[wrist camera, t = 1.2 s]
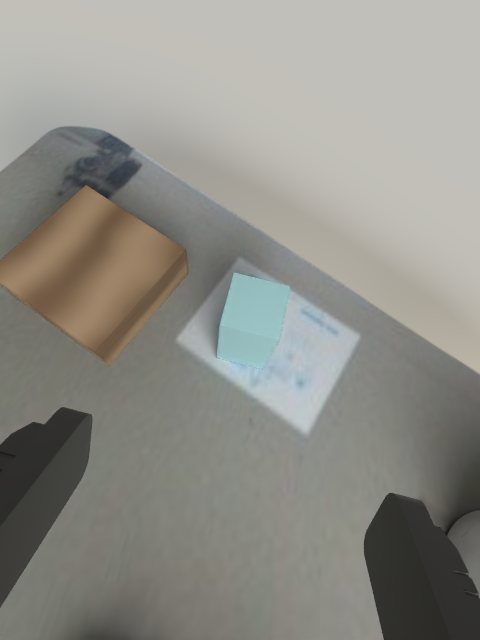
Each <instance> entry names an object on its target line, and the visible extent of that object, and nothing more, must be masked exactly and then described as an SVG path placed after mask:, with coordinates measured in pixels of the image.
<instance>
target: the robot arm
mask: <svg viewBox="0 0 480 640" xmlns="http://www.w3.org/2000/svg"><path fill="white" fill-rule="evenodd" d="M91 429H92V415H91V414H88V413H84V412H80V411H76V410H72V409H68V408H64V407H62V408H60V409H59V410H58V411H57V412H56V413H55V414H54V415H53V416H52V417H51V418H50V419H49V420H48V421H47V422H46V424H45V425H44V424H40V423H36V422H33V423H31V424H29V425H27V426H25V427H23V428H21V429H19V430H18V431H16V432H14V433H12V434H11V435H10V436H9V437H8V438H7V439H6V440H5V441H4V442H3V443H2V444H1V445H0V607H1V606H2V604H3V602H4V601H5V599H6V598H7V596H8V594H9V593H10V591H11V590H12V588H13V587H14V585H15V583H16V582H17V580H18V579H19V577H20V575H21V574H22V572H23V571H24V569H25V568H26V566H27V564H28V563H29V561H30V560H31V558H32V557H33V555H34V553H35V552H36V550H37V549H38V547H39V545H40V544H41V542H42V541H43V539H44V538H45V536H46V534H47V533H48V531H49V530H50V528H51V526H52V525H53V523H54V522H55V520H56V519H57V517H58V515H59V514H60V512H61V511H62V509H63V507H64V506H65V504H66V503H67V501H68V500H69V498H70V496H71V495H72V493H73V492H74V490H75V489H76V487H77V485H78V484H79V482H80V480H81V478H82V476H83V474H84V472H85V469H86V466H87V463H88V459H89V450H90V440H91ZM364 555H365V560H366V564H367V569H368V573H369V577H370V582H371V586H372V590H373V594H374V599H375V603H376V607H377V612H378V616H379V620H380V625H381V629H382V633H383V637H384V640H480V510H477V511H473V512H470V513H467V514H465V515H464V516H462V517H461V518H459V519H458V520H457V521H456V522H455V523H454V525H453V526H452V527H451V528H450V531H449V533H448V535H446V534H445V533H444V532H443V530H442V529H441V528H440V527H436V526H434V524H433V522H432V520H431V518H430V515H429V513H428V511H427V509H426V507H425V505H424V504H423V502H422V501H420V500H417V499H413V498H410V497H406V496H402V495H398V494H394V493H389V494H388V495H387V496H386V497H385V499H384V501H383V502H382V504H381V506H380V508H379V509H378V511H377V513H376V515H375V516H374V518H373V520H372V522H371V524H370V525H369V527H368V529H367V531H366V534H365V539H364Z"/></svg>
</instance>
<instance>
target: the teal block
mask: <svg viewBox="0 0 480 640" xmlns="http://www.w3.org/2000/svg"><path fill="white" fill-rule="evenodd" d="M290 287H291V286H287V285H283V284H279V283H275V282H271V281H267V280H263V279H259V278H255V277H251V276H246V275H242V274H238V273H234V274H233V278H232V281H231V285H230V289H229V293H228V296H227V300H226V304H225V307H224V311H223V315H222V318H221V322H220V327H219V338H218V349H217V358H219V359H223V360H227V361H231V362H235V363H239V364H243V365H247V366H251V367H255V368H259V369H263V367H264V365H265V364H266V362H267V360H268V359H269V357H270V356H271V354H272V352H273V351H274V349H275V347H276V346H277V344H278V342H279V341H280V337H281V332H282V327H283V322H284V317H285V312H286V307H287V302H288V297H289V292H290Z"/></svg>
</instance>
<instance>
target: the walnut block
mask: <svg viewBox="0 0 480 640" xmlns="http://www.w3.org/2000/svg"><path fill="white" fill-rule="evenodd" d="M187 275H188V268H187V258H186V249H184V248H183V247H181V246H179V245H178V244H176V243H175V242H173V241H172V240H170V239H169V238H167V237H165V236H164V235H162V234H161V233H159V232H158V231H156V230H155V229H153V228H152V227H150V226H148V225H147V224H145V223H144V222H142V221H141V220H139V219H138V218H136V217H135V216H133V215H131V214H130V213H128V212H127V211H125V210H124V209H122V208H121V207H119V206H118V205H116V204H114V203H113V202H111V201H110V200H108V199H107V198H105V197H104V196H102V195H100V194H99V193H97V192H96V191H94V190H93V189H91V188H90V187H88V186H87V185H85V186H84V187H83V188H82V189H81V190H80V191H79V192H77V193H76V194H75V195H74V196H73V197H72V198H71V199H70V200H68V201H67V202H66V203H65V204H64V205H63V206H62V207H60V208H59V209H58V210H57V211H56V212H55V213H54V214H53V215H51V216H50V217H49V218H48V219H47V220H46V221H45V222H43V223H42V224H41V225H40V226H39V227H38V228H37V229H36V230H34V231H33V232H32V233H31V234H30V235H29V236H28V237H26V238H25V239H24V240H23V241H22V242H21V243H20V244H19V245H17V246H16V247H15V248H14V249H13V250H12V251H11V252H9V253H8V254H7V255H6V256H5V257H4V258H3V259H2V260H0V285H1V286H2V287H4V288H5V289H6V290H7V291H8V292H9V293H11V294H12V295H13V296H14V297H16V298H17V299H18V300H20V301H21V302H22V303H24V304H25V305H27V306H28V307H29V308H31V309H32V310H33V311H35V312H36V313H38V314H39V315H40V316H42V317H43V318H44V319H46V320H47V321H49V322H50V323H51V324H53V325H54V326H55V327H57V328H58V329H60V330H61V331H62V332H64V333H65V334H66V335H68V336H69V337H70V338H72V339H73V340H75V341H76V342H77V343H79V344H80V345H81V346H83V347H84V348H86V349H87V350H88V351H90V352H91V353H92V354H94V355H95V356H97V357H98V358H99V359H101V360H102V361H103V362H105V363H106V364H108V365H109V366H110V365H111V363H112V362H113V361H114V360H115V359H116V358H117V356H118V355H119V354H120V353H121V352H122V351H123V349H124V348H125V347H126V346H127V345H128V344H129V342H130V341H131V340H132V339H133V338H134V337H135V335H136V334H137V333H138V332H139V331H140V330H141V328H142V327H143V326H144V325H145V324H146V322H147V321H148V320H149V319H150V318H151V317H152V315H153V314H154V313H155V312H156V311H157V310H158V308H159V307H160V306H161V305H162V304H163V303H164V301H165V300H166V299H167V298H168V297H169V296H170V294H171V293H172V292H173V291H174V290H175V289H176V287H177V286H178V285H179V284H180V283H181V282H182V280H183V279H184V278H185V277H186V276H187Z"/></svg>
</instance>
